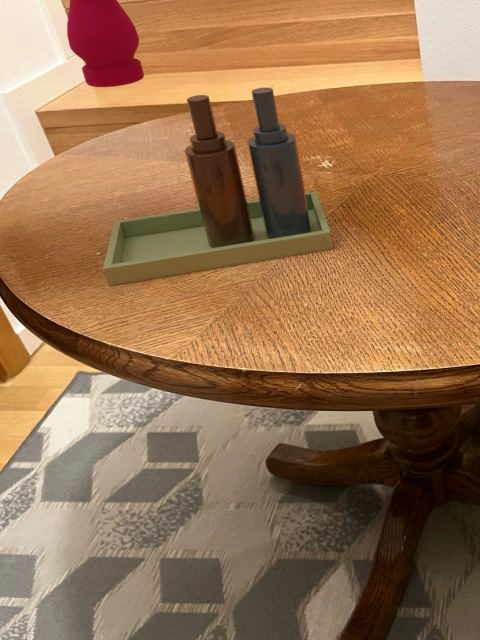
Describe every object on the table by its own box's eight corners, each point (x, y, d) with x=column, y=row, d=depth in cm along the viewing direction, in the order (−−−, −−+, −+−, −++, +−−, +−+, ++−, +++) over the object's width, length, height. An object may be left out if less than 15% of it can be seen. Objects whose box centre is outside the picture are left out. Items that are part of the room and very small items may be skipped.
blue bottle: (268, 244, 83) (237, 99, 74) (264, 226, 87) (235, 87, 78) (313, 237, 84) (289, 93, 75) (308, 219, 88) (284, 81, 79)
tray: (110, 289, 77) (102, 268, 75) (120, 239, 87) (113, 220, 85) (333, 252, 82) (330, 232, 80) (319, 209, 92) (316, 190, 90)
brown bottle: (208, 254, 81) (170, 107, 72) (208, 235, 86) (172, 94, 76) (256, 246, 83) (224, 101, 73) (253, 228, 87) (223, 88, 78)
